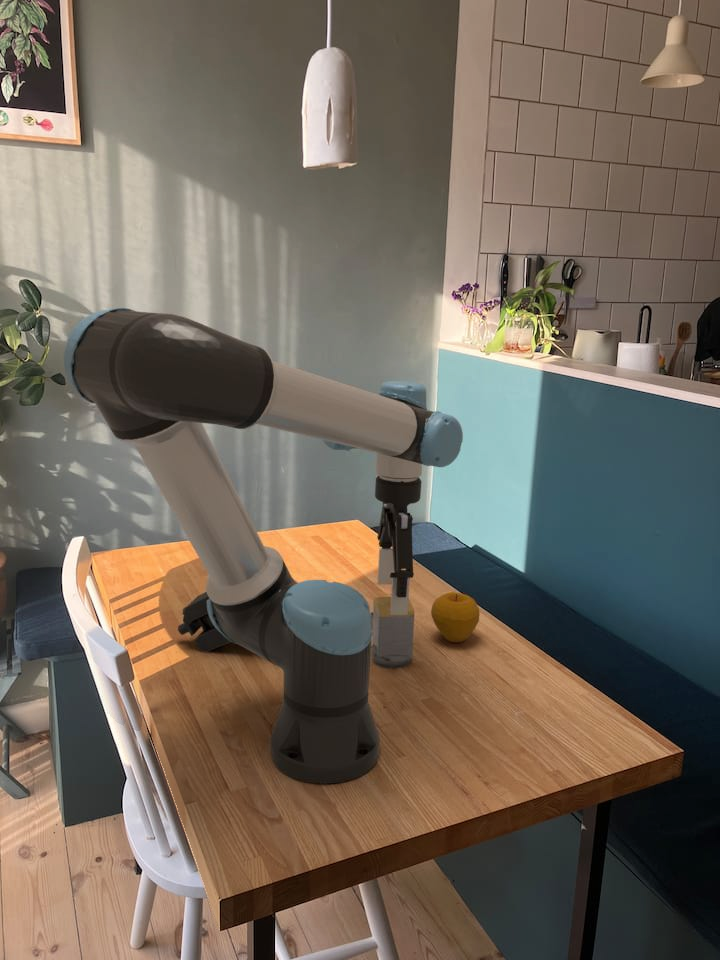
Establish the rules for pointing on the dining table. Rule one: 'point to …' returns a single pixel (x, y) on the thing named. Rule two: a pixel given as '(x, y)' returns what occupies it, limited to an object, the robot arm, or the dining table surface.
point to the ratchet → (389, 657)
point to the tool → (201, 625)
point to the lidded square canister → (392, 629)
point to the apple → (455, 616)
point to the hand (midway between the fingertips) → (391, 598)
